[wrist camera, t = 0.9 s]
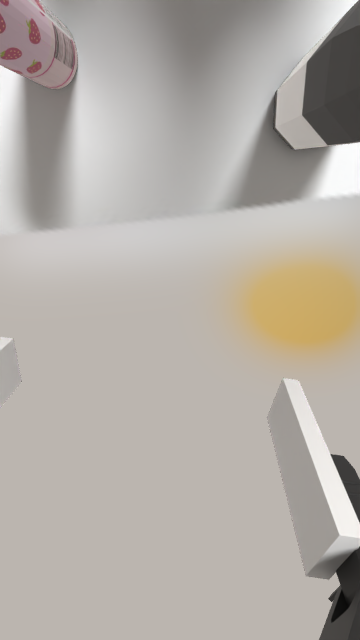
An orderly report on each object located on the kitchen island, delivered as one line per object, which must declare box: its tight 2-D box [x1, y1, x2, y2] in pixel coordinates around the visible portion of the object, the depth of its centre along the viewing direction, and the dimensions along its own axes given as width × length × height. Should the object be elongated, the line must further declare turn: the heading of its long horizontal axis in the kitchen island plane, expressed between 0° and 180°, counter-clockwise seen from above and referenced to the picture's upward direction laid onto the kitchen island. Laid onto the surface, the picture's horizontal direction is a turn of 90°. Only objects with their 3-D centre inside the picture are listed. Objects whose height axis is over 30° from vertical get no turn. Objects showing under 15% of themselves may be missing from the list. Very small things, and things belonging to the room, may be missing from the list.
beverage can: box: [0, 0, 78, 89], centre depth 23 cm, size 6×6×15 cm
